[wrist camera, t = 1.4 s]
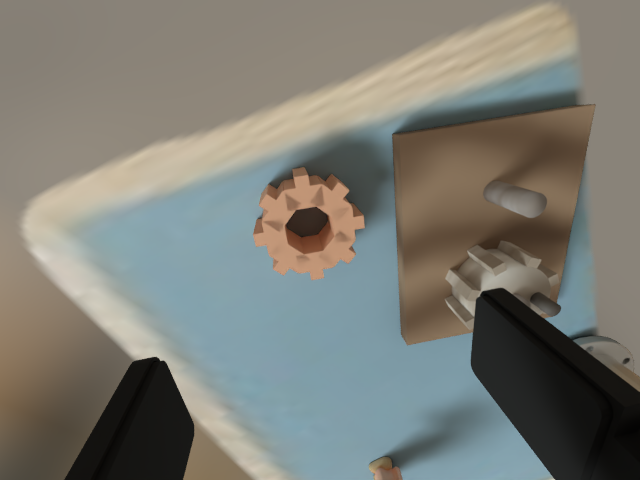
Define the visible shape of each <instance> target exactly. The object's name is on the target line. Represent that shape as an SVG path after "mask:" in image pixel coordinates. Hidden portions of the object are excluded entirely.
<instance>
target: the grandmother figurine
mask: <svg viewBox="0 0 640 480" xmlns="http://www.w3.org/2000/svg"><path fill="white" fill-rule="evenodd" d="M369 469H370V471H371V472H372V473H374V474H375V475H374V480H402V476H401V472H400V469H399V467H394V468H393V469H392V461H391V459H390V458H389V457H382V458H380V459H378V460H375V461H373V462H371V463H370V464H369Z"/></svg>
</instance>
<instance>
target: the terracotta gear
mask: <svg viewBox="0 0 640 480" xmlns="http://www.w3.org/2000/svg"><path fill="white" fill-rule="evenodd" d="M292 171H293V177H294V179H289V180H284V182H283V181H282V182H281V184H280V185H279V187H278V188H277V189H276V188H274V187H273V186H271V185H270V184H268V185H267V187H266V188H265V190H264V191H263V193H262V194H261V198H260V202H259V206H260V207H262V208H263V209H264V211H263V216H262V218H261V219H257V220H256V225H255V229H254V233H253V236H254V240H255V244H256V247H258V246H264V245H267V249H268V253H269V255H270V257H272V258H274V261H273V269H274V270H275V271H277V272H279V273H280V274H282V275H285V273H286V272H287V271H288V270H289V268H290V269H292V270H294V271H295V272H297V273H305V272H310V275H311V280H315V279H321V278H324V275H323V269H327V268H333V267H334V266H335V265H336V264H337V263H338V261H339V260H340V259H341V260H343V261H345V262H346V263H348V264H349V262H350V261H351V260H352V259H353V257H354V256H355V255H356V253H355V251H354V249H353V248H352V244H353V243H354V242H355V240H356V239H355V230H356V229H362V228H365V226H364V215H363V214H362V213H361V212H360V211H359V209H358V208H357V207H356V206H355V205H354V203H349V202H348V200H347V199H346V198H345V196H346V194H347V193H348V192H349V189H348V188H347V187H346V186H345V185H344V184H343V183H342V182H341V181H340V180H339V179H338V178H336V177H335V176H334V175H332V174H330V176H329V177H328V178H327V180H326V181H324V180H323V179H322V178H320V177H319V176H316V175H313V176H308V173H307V171H306V169H305V167H301V168H295V169H292ZM311 207H318V208H319V209H320V210H322V211H323V212H325V213H326V214H327V218H328V222H327V223H326V224H325V226H324V227H323V228H322V230H321V231H320V232H319V234H317V235H312V236H306V237H300V236H298V235H297V234H295V233H294V232H292V231H291V230H289V229H287V225H286V223H287V222H288V220H289V219H290V218H291V216H292V215H293V214H294V212H295V211H296V210H299V209H305V208H311Z"/></svg>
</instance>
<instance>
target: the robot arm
mask: <svg viewBox="0 0 640 480" xmlns="http://www.w3.org/2000/svg"><path fill="white" fill-rule="evenodd" d="M471 367H472V370H473V372H474V374H475V375H476V377H477V378H478V379H479V380H480V382H481V383H482V384H483V386H484V387H485V388H486V390H487V391H488V392H489V394H490V395H491V396H492V398H493V399H494V400H495V401H496V403H497V404H498V405H499V407H500V408H501V409H502V411H503V412H504V413H505V415H506V416H507V417H508V418H509V420H510V421H511V422H512V424H513V425H514V426H515V428H516V429H517V430H518V432H519V433H520V434H521V436H522V437H523V438H524V439H525V441H526V442H527V443H528V445H529V446H530V447H531V449H532V450H533V451H534V453H535V454H536V455H537V457H538V458H539V459H540V460H541V462H542V463H543V464H544V466H545V467H546V468H547V470H548V471H549V472H550V474H551V475H552V476H553V478H554V479H555V480H640V377H639V376H638V375H636V374H635V373H633V372H634V360H633V357H632V355H631V353H630V352H629V351H628V349H626V348H625V347H624V346H622V345H621V344H620V343H618V342H617V341H615V340H613V339H611V338H607V337H602V336H588V337H582V338H578V339H574V340H571V339H570V338H569V337H567V336H566V335H565V334H564V333H562V332H561V331H560V330H558V329H557V328H556V327H554V326H553V325H552V324H550V323H549V322H548V321H547V320H545V319H544V318H543V317H541V316H540V315H539V314H537V313H536V312H535V311H534V310H532V309H531V308H530V307H528V306H527V305H526V304H524V303H523V302H522V301H520V300H519V299H518V298H517V297H515V296H514V295H513V294H511V293H510V292H509V291H507V290H506V289H504V288H495V289H490V290H486V291H482V292H481V294H480V297H477V299H476V304H475V316H474V328H473V340H472V352H471ZM193 437H194V423H193V421H192V419H191V416H190V414H189V412H188V410H187V407H186V405H185V403H184V401H183V399H182V396H181V394H180V392H179V390H178V388H177V385H176V383H175V381H174V379H173V377H172V374H171V372H170V370H169V368H168V366H167V364H166V362H165V361H160V360H159V358H157V357H152V358H147V359H142V360H137V361H134V362H132V364H131V365H130V367H129V368H128V370H127V372H126V373H125V375H124V377H123V379H122V380H121V382H120V384H119V386H118V387H117V389H116V391H115V393H114V394H113V396H112V398H111V400H110V401H109V403H108V405H107V406H106V408H105V410H104V412H103V413H102V415H101V417H100V419H99V420H98V422H97V424H96V426H95V428H94V429H93V431H92V433H91V434H90V436H89V438H88V440H87V441H86V443H85V445H84V447H83V448H82V450H81V452H80V454H79V455H78V457H77V459H76V460H75V462H74V464H73V466H72V467H71V469H70V471H69V473H68V474H67V476H66V478H65V480H183V477H184V473H185V470H186V465H187V462H188V458H189V453H190V449H191V446H192V441H193Z"/></svg>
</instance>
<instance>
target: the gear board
mask: <svg viewBox="0 0 640 480" xmlns="http://www.w3.org/2000/svg"><path fill="white" fill-rule="evenodd" d="M594 110H595V104H593V105H574V106H568V107H561V108H555V109H549V110H542V111H536V112H530V113H523V114H517V115H510V116H504V117H498V118H491V119H485V120H479V121H472V122H466V123H460V124H453V125H447V126H441V127H434V128H428V129H421V130H415V131H409V132H402V133H396V134H392V139H393V161H394V184H395V207H396V230H397V253H398V276H399V299H400V322H401V335H402V337H403V339H404V340H405V342H406V344H407V345H411V344H416V343H421V342H426V341H431V340H436V339H441V338H446V337H451V336H456V335H461V334H466V333H471V332H473V328H474V316H475V304H476V299H477V297H480V294H481V292H482V291H486V290H490V289H495V288H504V289H506V290H507V291H509V292H510V293H511V294H513V295H514V296H515V297H517V298H518V299H519V300H520V301H522V302H523V303H524V304H526V305H527V306H528V307H530V308H531V309H532V310H534V311H535V312H536V313H537V314H539V315H540V316H541V317H543V318H547V317H552V316H555V315H557V314H558V313H559V312H560V310H561V307H560V305H558V304H557V299H558V293H559V288H560V283H561V278H562V273H563V268H564V263H565V258H566V253H567V248H568V242H569V237H570V232H571V227H572V222H573V217H574V212H575V207H576V202H577V197H578V192H579V186H580V181H581V176H582V171H583V166H584V161H585V156H586V151H587V146H588V141H589V136H590V130H591V125H592V120H593V115H594Z"/></svg>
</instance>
